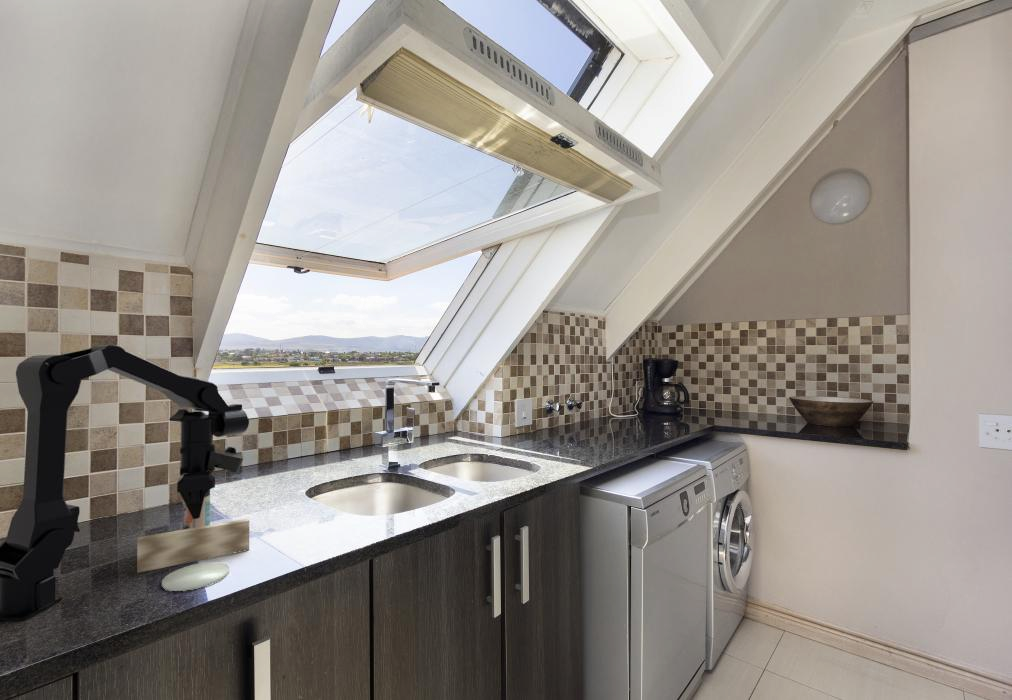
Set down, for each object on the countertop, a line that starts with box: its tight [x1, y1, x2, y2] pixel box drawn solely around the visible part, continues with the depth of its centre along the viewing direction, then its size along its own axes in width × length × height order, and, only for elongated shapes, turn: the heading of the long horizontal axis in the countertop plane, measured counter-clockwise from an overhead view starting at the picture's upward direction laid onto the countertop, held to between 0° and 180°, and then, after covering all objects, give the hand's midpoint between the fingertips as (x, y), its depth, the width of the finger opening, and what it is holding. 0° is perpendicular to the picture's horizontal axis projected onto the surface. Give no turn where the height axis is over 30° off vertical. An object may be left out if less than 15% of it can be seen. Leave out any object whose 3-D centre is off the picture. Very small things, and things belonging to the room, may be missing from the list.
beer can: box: [182, 489, 211, 530], centre depth 99 cm, size 5×5×12 cm
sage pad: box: [161, 561, 230, 592], centre depth 84 cm, size 10×10×1 cm
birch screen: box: [136, 518, 250, 574], centre depth 91 cm, size 18×2×6 cm, turn 123°
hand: (196, 515), depth 99 cm, fingers closed on beer can, 5 cm apart
